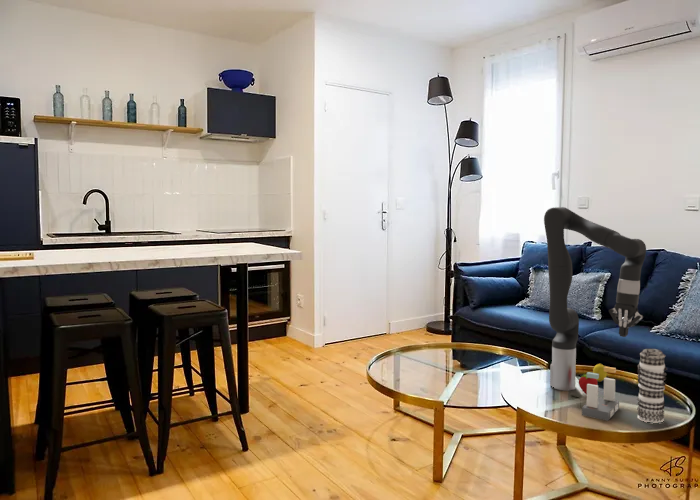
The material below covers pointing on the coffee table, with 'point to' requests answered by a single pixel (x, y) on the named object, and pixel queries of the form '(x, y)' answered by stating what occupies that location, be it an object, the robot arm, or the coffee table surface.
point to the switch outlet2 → (609, 385)
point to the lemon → (600, 372)
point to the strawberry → (586, 382)
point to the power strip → (601, 409)
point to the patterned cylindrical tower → (651, 386)
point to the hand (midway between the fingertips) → (623, 336)
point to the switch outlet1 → (592, 391)
